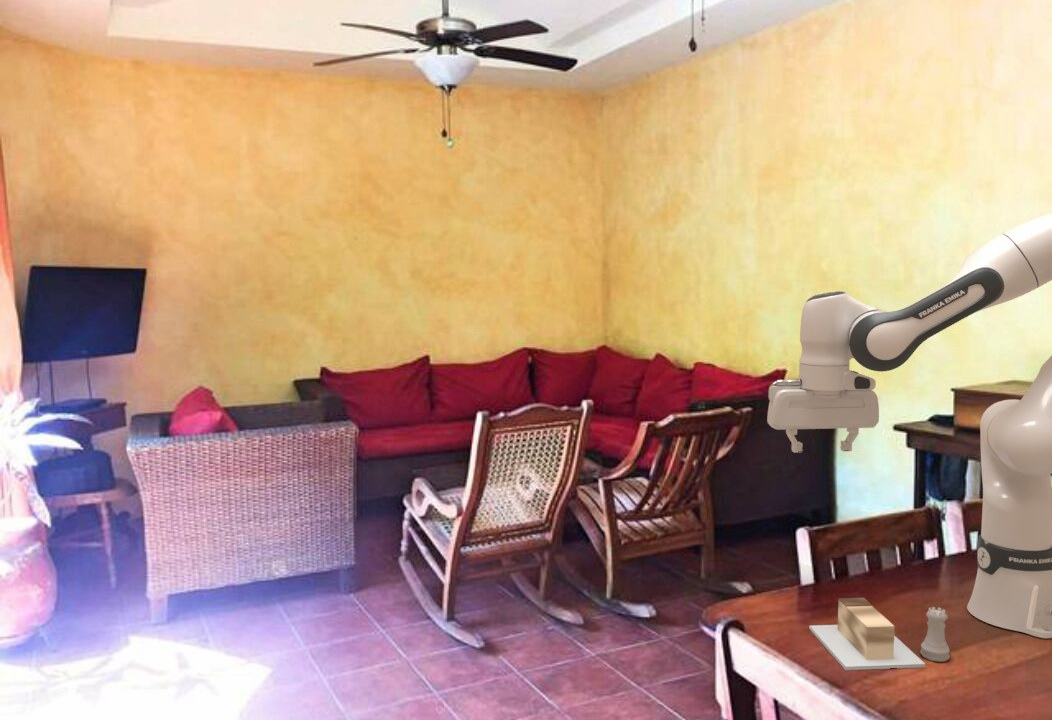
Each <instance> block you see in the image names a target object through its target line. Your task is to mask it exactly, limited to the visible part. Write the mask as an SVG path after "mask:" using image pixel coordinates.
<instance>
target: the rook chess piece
mask: <svg viewBox="0 0 1052 720" xmlns="http://www.w3.org/2000/svg"><path fill="white" fill-rule="evenodd" d="M925 615H926V617H927V619H928V621H927V622H926V624H927V632H926V636H925V638H924V639H923V642H921V644H920V648H921V649H920V650H919V651H920V652H919V653H920V655H921V656H922V657H923V658H925V659H926V660H928V661H931V662H934V661H935V662H936V663H944V662H948V661H949V659H950V658H951V655H950V652H951V651H950V647H949V645H948V642H946V634H945V628H946V627H947V626H946V623H945V622H946V620H948V618H949V616H948V615H947V613H946V609H944V608H943V609H942V607H937V609H936V606H931V607H928V611H927V612H925Z"/></svg>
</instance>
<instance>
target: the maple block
mask: <svg viewBox="0 0 1052 720" xmlns="http://www.w3.org/2000/svg"><path fill="white" fill-rule="evenodd" d="M837 609H838V610H837V625H838V631H839V632H840V633H841V634H842V635H843V636H844V637H845V638H846V639H847V640H848V641H849V642H850V643H851V644H852V645H853V646H854V647H855V648H856V649H857V650H858V652H859V653H860V654H861V655H862V656H863V657H864V658H865V659H866V660H867V659H893V655H894V636H895V629H896V627H895V625H894V623H892V622H891V621H890V620H889V619H887V618H886V617H885V616H884V615H883V614H881V613H880V612H879V611H878V610H877V609H876V608H875V607H874V606H873V605H872V603H871V602H869V601H868V600H867V599H866V598H865V597H842V598H840V597H839V598H838V605H837Z"/></svg>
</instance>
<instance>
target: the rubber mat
mask: <svg viewBox="0 0 1052 720" xmlns="http://www.w3.org/2000/svg"><path fill="white" fill-rule="evenodd" d="M808 628H809V630H810V632H811V633H812V634H813V635H814V636H815V637H816V638H817V640H818V641H819V642H820V643H821V644H822V645H823V646H824V647H825V649H826V650H827V651H828V653H830V654H831V655H832V657H833V658H834V659H835V660H836V661H837V663H839V665H840V666H841V667H842V668H843V670H845V671H859V670H861V671H863V670H864V671H865V670H866V671H867V670H868V671H869V670H889V669H890V668H897V669H914V668H915V669H920V668H922V669H923V668H926V663H925V662H924V661H923V660H922V659H921V658H920V657H918V656H917V655H916V654H915V653H914V652H913V651H912V650H911V649H910V648H909V647H908V646H907V645H905V644H904V643H903V642H902V640H900V639H899V638H898V637H897V636H895V635H894V655H893V659H867V660H866V659H865V658H864V657H863V656H862V655H861V654H860V653H859V652H858V650H857V649H856V648H855V647H854V646H853V645H852V644H851V643H850V642H849V641H848V640H847V639H846V638H845V637H844V636H843V635H842V634H841V633H840V632H839V631H838V624H817V625H816V624H815V625H809V627H808Z"/></svg>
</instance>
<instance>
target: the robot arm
mask: <svg viewBox="0 0 1052 720" xmlns="http://www.w3.org/2000/svg"><path fill="white" fill-rule="evenodd" d="M1051 281H1052V212H1049V213H1047V214H1044V215H1041V216H1039V217H1036V218H1033V219H1031V220H1028V221H1025V222H1023V223H1021V224H1019V225H1016V226H1014V227H1012V228H1010V229H1008V230H1005V232H1002V233H1000V234H998V235H997V236H995V237H993V238H991V239H990V240H988V241H986V242H985V243H984V244H982V245H980V247H978V248H977V249H976V250H975V251H973V252H972V253H970V254H968V256H966V258H965V259H964V260H963V262H962V264H961V266H960V269H959V271H958V272H957V274H956V275H955V276H954V278H953V279H951V280H950V281H949V282H948V283H947V284H945V285H943V286H942V287H939V288H938V289H937V290H934V291H933V292H932V293H930V294H928V295H926V296H924V297H922V298H920V299H919V300H917V301H915V302H913V303H912V304H910V305H908V306H906V307H904V308H902V309H899V310H895V311H885V310H882V309H879V308H876V307H874V306H871V305H868V304H867V303H864V302H862V301H860V300H858V299H856V298H854V297H852V296H851V295H849V294H848V292H846V291H839V290H838V291H832V292H831V291H830V292H825V293H820V294H815V295H813V296H810V298H808V299H807V300H806V301H805V302H804V303H803V306H802V310H801V311H802V312H801V318H800V327H799V328H800V329H799V330H800V331H799V341H800V345H801V354H800V357H799V361H798V362H799V365H798V379H776V381H774V382H773V383H771V384H770V385H769V387H768V393H767V394H768V395H767V398H768V400H769V403H768V409H767V419H766V423H767V424H768V425H769V427H771V428H773V429H774V430H779V431H780V430H783V431H785V434H786V435H787V437H788V439H789V441H790V442H791V452H793V453H803V442H801V441H798V440H797V438H796V435H798V430H816V429H817V430H821V429H823V430H825V429H827V430H828V429H830V430H831V429H846V432H847V433H848V434H847V435H846V437H845V439H844V440H840V451H842V452H853V451H852V450H853V443H854V441H855V440H856V438H857V437H858V435H859V434H860V433H859V431H860V430H859V429H869V428H870V429H871V428H872V429H873V428H874V429H875V427H876V426H877V425H878V423H879V420H880V406H879V405H880V404H879V398H878V395H877V393H876V392H875V391H874V389H876V385H877V383H876V382H877V381H876V379H875V378H873V377H870V376H868V375H865V374H862V373H860V372H858V371H855V370H850V364H851V363H850V362H851V360H852V359H854V360H855V361H856V362H857V363H858V364H859V365H861V366H862V367H863V368H865V369H867V370H870V371H874V372H882V373H883V372H889V371H892V370H895V369H897V368H899V367H900V366H902V365H904V364H905V363H906V362H907V361H908V360H909V358H910V357H912V355H913V354H914V352H915V351H916V350H917V349H918V348H919V347H920V345H922V344H923V343H924V342H925V341H926V340H928V339H929V338H931V337H933V336H935V335H937V334H939V333H940V332H942V331H945V330H946V329H947V328H949V327H951V326H953V325H954V324H956V323H959V322H960V321H963V320H964V319H965V318H968V317H969V316H971V315H973V314H975V313H977V312H980V311H983V310H987V309H989V308H991V307H992V308H993V307H995V306H998V305H1001V304H1004V303H1007V302H1010V301H1012V300H1015V299H1017V298H1020V297H1022V296H1024V295H1026V294H1029V293H1031V292H1032V291H1034V290H1036V289H1039V288H1040V287H1042V286H1044V285H1046V284H1047V283H1049V282H1051ZM979 423H980V424H979V425H980V426H979V430H980V439H979V440H980V464H981V465H980V466H981V479H982V480H981V481H982V509H981V510H982V511H981V531H980V532H981V533H980V534H979V535H978V538H977V551H976V552H977V553H976V559H977V573H976V577H975V580H974V581H975V582H974V587H973V590H972V592H971V596H970V598H969V602H968V603H967V605H966V608H967V611H968V612H969V614H971V616H974V618H976V619H978V620H980V621H982V622H985V623H986V624H990V625H992V626H995V627H999V628H1002V629H1006V630H1010V631H1015V632H1021V633H1025V634H1028V635H1030V636H1033V637H1036V638H1041V639H1052V481H1051V479H1052V478H1051V477H1052V476H1051V474H1052V355H1051V356H1049V358H1047V360H1046V361H1044V363H1043V364H1042V365H1041V367H1040V368H1039V371H1038V374H1037V375H1036V377H1035V378H1034V380H1033V381H1032V383H1031V385H1030V386H1029V388H1028V389H1027V391H1026V392H1025V393H1024V395H1023V396H1022V398H1021V399H1013V398H1012V399H1004V400H1001V401H1000V400H999V401H997V402H994V403H993V404H990V406H988V407H987V408H986V410H985V411H984V412H983V414H982V415H981V419H980V422H979Z"/></svg>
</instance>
